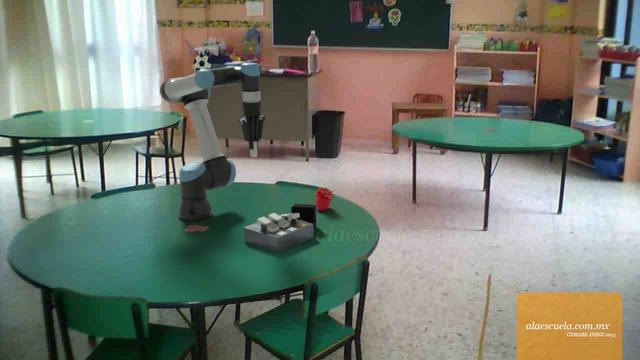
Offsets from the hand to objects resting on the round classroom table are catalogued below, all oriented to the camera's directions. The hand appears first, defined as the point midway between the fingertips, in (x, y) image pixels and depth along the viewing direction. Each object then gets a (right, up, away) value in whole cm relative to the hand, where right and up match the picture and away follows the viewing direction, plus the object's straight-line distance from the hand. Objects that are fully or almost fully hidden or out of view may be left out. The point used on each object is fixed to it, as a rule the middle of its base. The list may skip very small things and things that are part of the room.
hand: (253, 156), depth 265 cm
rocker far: (+15, -25, -7) cm, 30 cm away
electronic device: (+21, -31, +4) cm, 37 cm away
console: (+11, -34, -9) cm, 37 cm away
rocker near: (+7, -28, -16) cm, 33 cm away
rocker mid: (+11, -26, -12) cm, 31 cm away
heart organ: (+30, -24, +27) cm, 47 cm away
